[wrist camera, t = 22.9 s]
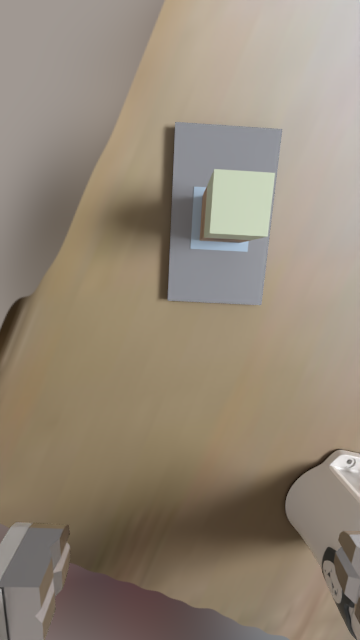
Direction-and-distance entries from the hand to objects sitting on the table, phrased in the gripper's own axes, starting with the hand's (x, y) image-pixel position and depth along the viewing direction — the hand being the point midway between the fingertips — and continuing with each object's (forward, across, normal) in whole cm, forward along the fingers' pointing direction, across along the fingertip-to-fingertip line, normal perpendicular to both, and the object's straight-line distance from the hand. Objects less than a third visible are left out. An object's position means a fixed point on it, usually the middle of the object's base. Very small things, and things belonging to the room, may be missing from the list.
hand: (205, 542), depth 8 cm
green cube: (+23, +4, +13) cm, 27 cm away
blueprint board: (+29, +4, +13) cm, 32 cm away
